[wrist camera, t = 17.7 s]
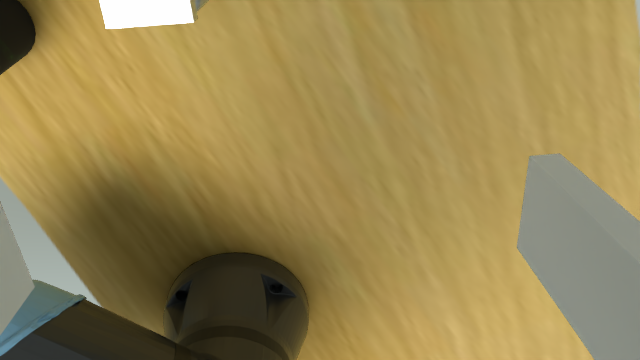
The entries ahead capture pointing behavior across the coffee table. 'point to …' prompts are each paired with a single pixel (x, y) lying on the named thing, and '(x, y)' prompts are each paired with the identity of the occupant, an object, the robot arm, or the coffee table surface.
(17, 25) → the cup
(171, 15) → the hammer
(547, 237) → the robot arm
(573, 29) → the coffee table surface
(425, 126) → the coffee table surface
